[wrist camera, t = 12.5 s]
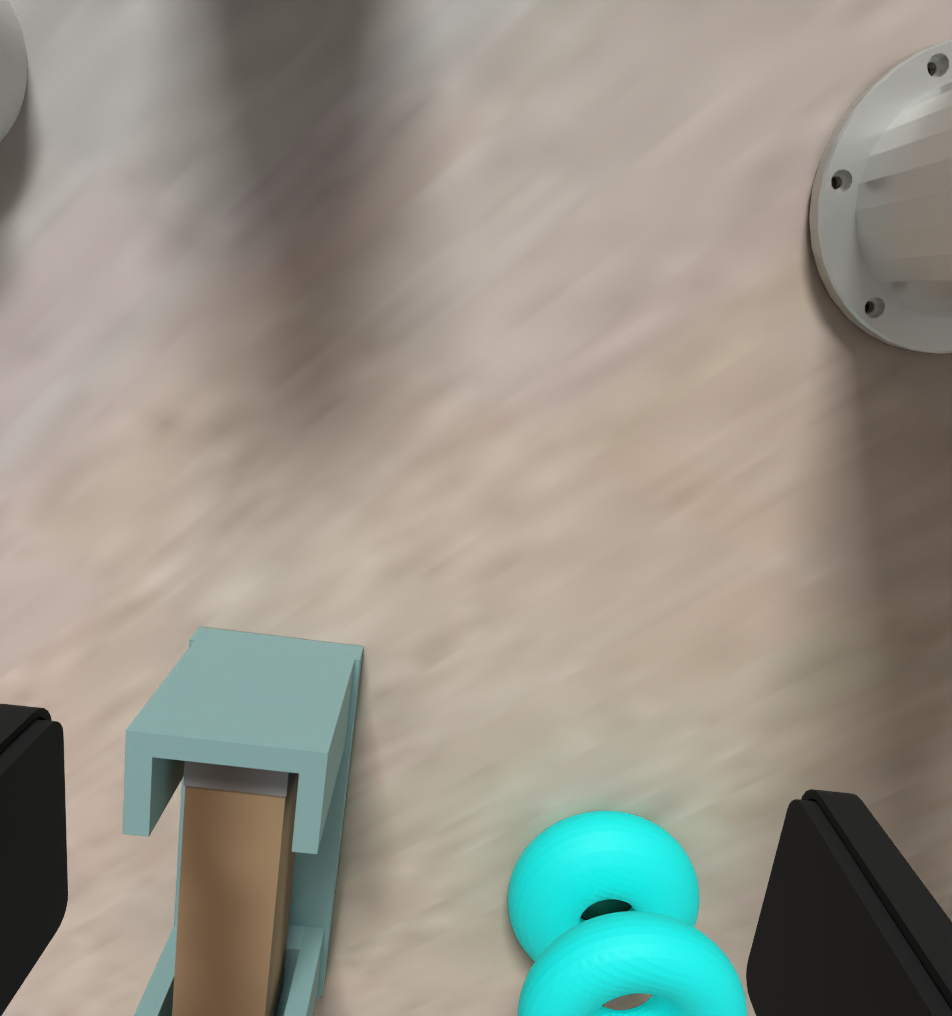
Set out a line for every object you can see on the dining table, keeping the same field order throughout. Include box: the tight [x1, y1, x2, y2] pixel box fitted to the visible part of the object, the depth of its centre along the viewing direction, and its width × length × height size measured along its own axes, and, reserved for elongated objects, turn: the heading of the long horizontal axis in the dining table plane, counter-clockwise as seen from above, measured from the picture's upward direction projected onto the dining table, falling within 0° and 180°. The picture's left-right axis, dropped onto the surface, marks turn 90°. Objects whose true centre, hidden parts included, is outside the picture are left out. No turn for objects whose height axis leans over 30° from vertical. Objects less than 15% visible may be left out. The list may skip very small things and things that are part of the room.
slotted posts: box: [123, 627, 364, 1016], centre depth 37 cm, size 8×20×10 cm, turn 172°
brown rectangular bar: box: [172, 761, 299, 1016], centre depth 36 cm, size 4×16×5 cm, turn 172°
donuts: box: [508, 811, 747, 1016], centre depth 38 cm, size 10×10×10 cm
